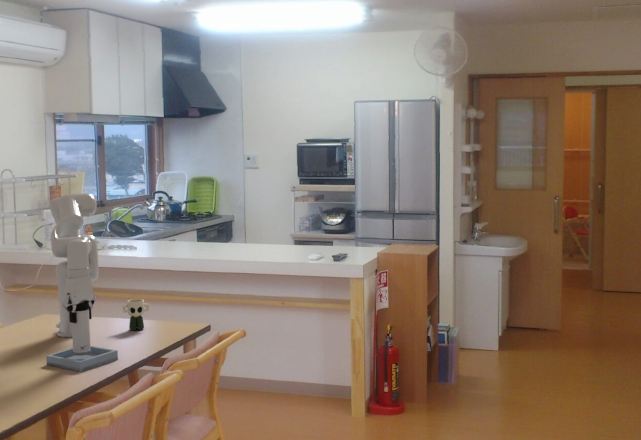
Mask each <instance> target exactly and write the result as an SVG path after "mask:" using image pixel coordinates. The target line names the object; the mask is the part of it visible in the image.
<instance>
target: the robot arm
mask: <svg viewBox="0 0 641 440" xmlns="http://www.w3.org/2000/svg"><path fill="white" fill-rule="evenodd" d="M97 203H98V202H97V200H96V198H95V196H94V195H93V193H92V194H91V193H68V194H67V193H66V194H64V195H62V196H60V197H55V198H53V199H51V200H50V201H49V210H50V213H51V216H52V218H53V220H54V222H55V225H54V227H53V228H52V230H51V232H50V247H51V253H52V255H53V256H54V257H56V258H64V259H66V260H63V261H61V262H59V263H57V264H56V267H55V278H56V281H57V282H56V283H57V288H58V301H59V302H58V303H59V304H58V305H59V322H58V324H56V325H55V327H56V328H58V331H57V332H56V335H57V336H58V337H61V338H72V323H77V315H76V312H75V309H76V306H77V304H79V303H84V302H85V301H87V300H88V301H89V303H88V304H89V306H88V307H89V320H92V309H93V307H94V304H95V301H96V300H97V298H98V296H97V295H96V294H95V293H94V290H93V289H94V288H93V287H94V286H93V282H96V281H97V280H98V279H99V276H100V275H99V273H100V272H99V271H100V270H99V252H98V251H99V249H98V241H97V238H96V236H95V235H92V234H79V230H81V228H82V227H83V226H84V217H85V218H87V217H88V218H89V217H92V216H94V215H95V213H96V212H97V207H98V204H97ZM72 305H73V307H72Z"/></svg>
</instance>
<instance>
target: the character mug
mask: <svg viewBox="0 0 641 440" xmlns="http://www.w3.org/2000/svg"><path fill="white" fill-rule="evenodd" d="M126 302H127V304H124V305H122V312H123V313H127V315H128V316H130V317H129V327H128V328H129V330H130V331H136V330H139V331H140V330H143V329H145V323H144V319H143V318H144V317H143V316H142V315H144V314H145V312H148V311H149V310H150V307H149V305H150V304H149V303H145V300H144V299H142V298H131V299H128V300H127V301H126ZM145 306H146V308H145ZM126 308H127V309H126Z"/></svg>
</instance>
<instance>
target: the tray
mask: <svg viewBox="0 0 641 440" xmlns="http://www.w3.org/2000/svg"><path fill="white" fill-rule="evenodd" d="M90 349H91V352H90V354H87V355H82V356H77V355H74V354H73V347H70V348H68V349H67V348H66V349H65V350H60V351H58V352H54V353H50V354H47V355H46V358H45V359H46V366H51V367H56V368H60V369H65V370H70V371H74V372H80V373H81V372H83V371H87V370H90V369H93V368H96V367H100V366H102V365H105V364H107V363H112V362H114V361H115V362H116V361H117V360H119V356H118V354H119V353H118V350H117V349H113V348H112V349H111V348H105V347H100V346H95V345H90Z"/></svg>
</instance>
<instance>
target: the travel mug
mask: <svg viewBox="0 0 641 440" xmlns="http://www.w3.org/2000/svg"><path fill="white" fill-rule="evenodd" d="M88 303H89V301H88V300H87V301H85V302H84V303H79V304H77V306H76V309H75V312H76V315H77V323H72V337H71V338H72V348H73V354H74V355H77V356H82V355H87V354H90V352H91V349H90V346H91V328H90V319H89V307H88V306H89V304H88ZM72 307H73V305H72Z"/></svg>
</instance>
